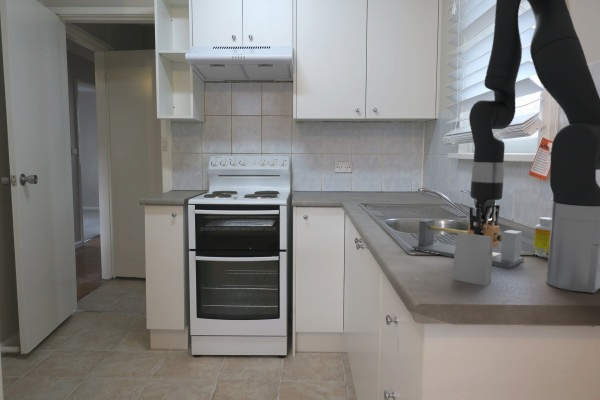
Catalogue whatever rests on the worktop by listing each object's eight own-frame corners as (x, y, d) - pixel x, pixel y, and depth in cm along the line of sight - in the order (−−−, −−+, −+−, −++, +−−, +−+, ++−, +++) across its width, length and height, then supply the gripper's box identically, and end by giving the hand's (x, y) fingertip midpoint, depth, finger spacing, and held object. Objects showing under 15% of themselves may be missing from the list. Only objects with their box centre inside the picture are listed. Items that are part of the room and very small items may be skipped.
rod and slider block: (523, 261, 112) (525, 230, 111) (509, 268, 105) (511, 235, 104) (429, 244, 130) (430, 217, 129) (412, 249, 122) (413, 221, 122)
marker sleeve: (498, 245, 113) (499, 226, 113) (490, 248, 110) (492, 228, 109) (475, 242, 118) (476, 223, 117) (467, 244, 114) (468, 225, 113)
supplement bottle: (549, 259, 114) (553, 220, 113) (529, 254, 119) (531, 217, 118) (560, 256, 117) (564, 219, 116) (539, 252, 122) (542, 216, 121)
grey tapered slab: (485, 285, 90) (489, 238, 89) (453, 279, 94) (455, 233, 93) (490, 281, 93) (493, 235, 92) (458, 275, 97) (461, 231, 96)
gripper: (491, 182, 104) (486, 252, 106) (512, 180, 114) (507, 243, 116) (460, 180, 109) (456, 247, 111) (483, 178, 119) (479, 239, 121)
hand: (482, 245), depth 114 cm, fingers open, 5 cm apart
